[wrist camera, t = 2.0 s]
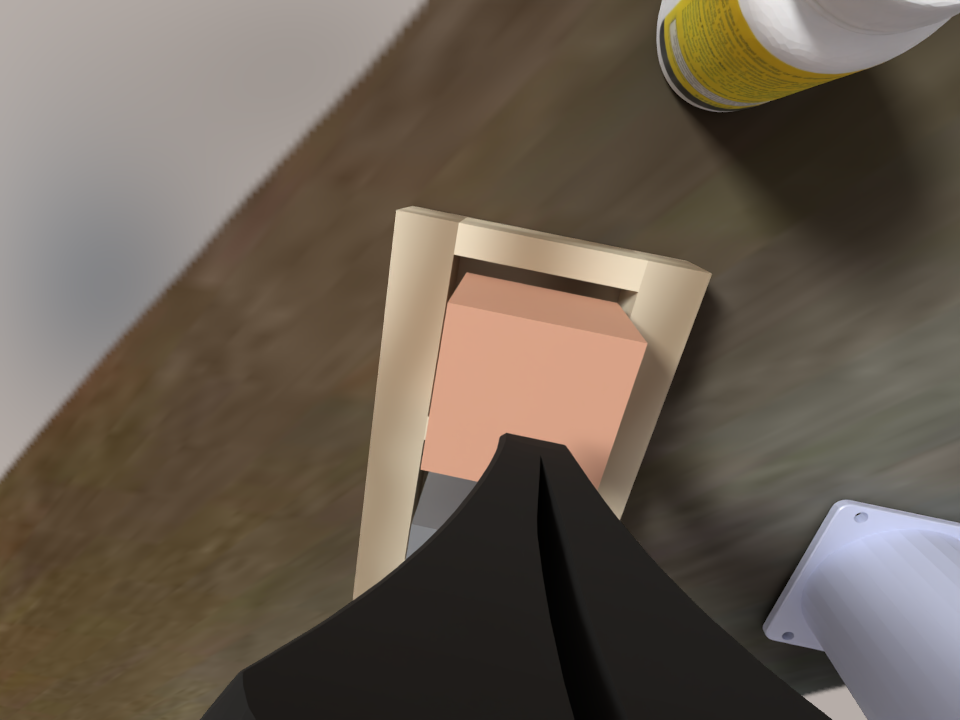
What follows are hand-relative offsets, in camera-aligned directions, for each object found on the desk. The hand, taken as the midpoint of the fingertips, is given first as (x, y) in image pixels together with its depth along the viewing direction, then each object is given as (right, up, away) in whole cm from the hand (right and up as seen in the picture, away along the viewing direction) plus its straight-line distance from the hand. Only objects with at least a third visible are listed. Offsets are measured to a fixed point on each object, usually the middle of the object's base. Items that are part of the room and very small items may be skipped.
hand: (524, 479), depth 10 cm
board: (0, -3, +11) cm, 12 cm away
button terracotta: (+1, +2, +6) cm, 7 cm away
